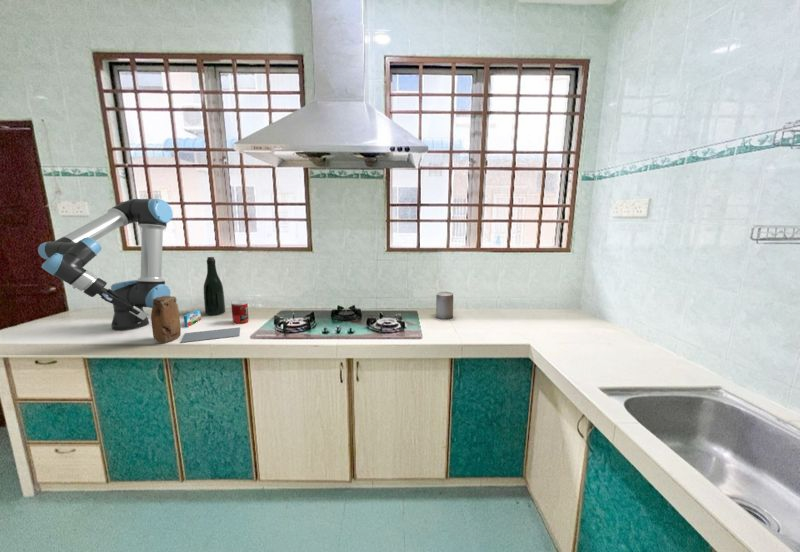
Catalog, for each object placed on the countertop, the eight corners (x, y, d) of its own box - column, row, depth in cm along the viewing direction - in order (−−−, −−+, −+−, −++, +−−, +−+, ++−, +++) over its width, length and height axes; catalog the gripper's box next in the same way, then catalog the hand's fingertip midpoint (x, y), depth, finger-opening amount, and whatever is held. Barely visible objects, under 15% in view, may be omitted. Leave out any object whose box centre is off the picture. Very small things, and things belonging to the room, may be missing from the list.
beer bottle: (229, 312, 202) (224, 256, 197) (211, 317, 194) (206, 258, 188) (219, 310, 208) (214, 255, 202) (201, 314, 199) (196, 257, 193)
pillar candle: (452, 314, 202) (453, 289, 200) (453, 319, 193) (453, 293, 190) (435, 314, 203) (436, 289, 201) (435, 319, 194) (436, 292, 191)
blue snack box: (187, 327, 176) (186, 315, 175) (184, 327, 176) (183, 315, 175) (201, 320, 188) (200, 309, 187) (198, 320, 188) (197, 309, 187)
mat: (185, 333, 166) (185, 333, 166) (240, 328, 176) (240, 327, 176) (180, 343, 155) (180, 342, 155) (239, 336, 164) (239, 335, 164)
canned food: (242, 324, 181) (241, 304, 179) (229, 323, 182) (227, 303, 180) (251, 320, 188) (250, 300, 186) (238, 319, 190) (237, 300, 188)
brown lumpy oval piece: (168, 335, 164) (163, 294, 160) (183, 336, 163) (179, 294, 160) (151, 344, 153) (145, 300, 150) (167, 344, 153) (162, 300, 149)
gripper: (84, 288, 144) (138, 320, 157) (80, 294, 134) (139, 328, 146) (99, 274, 146) (151, 307, 159) (96, 279, 136) (153, 313, 149)
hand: (145, 317), depth 153 cm, fingers closed
